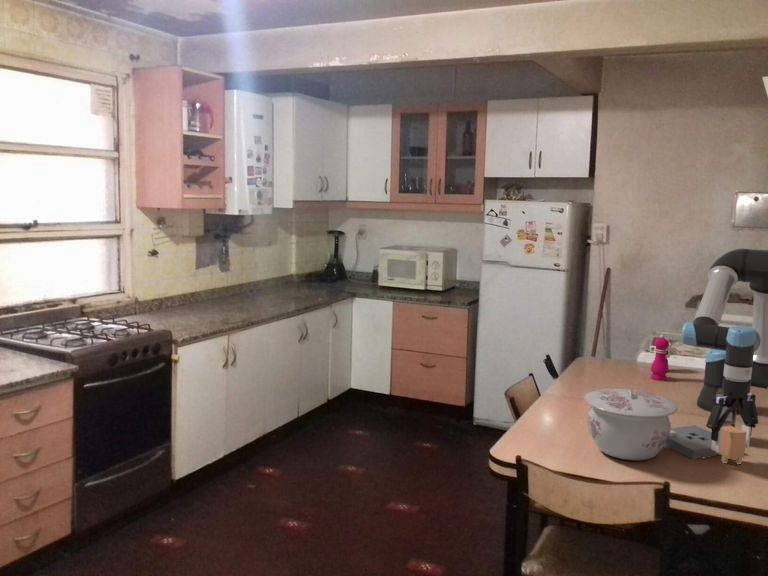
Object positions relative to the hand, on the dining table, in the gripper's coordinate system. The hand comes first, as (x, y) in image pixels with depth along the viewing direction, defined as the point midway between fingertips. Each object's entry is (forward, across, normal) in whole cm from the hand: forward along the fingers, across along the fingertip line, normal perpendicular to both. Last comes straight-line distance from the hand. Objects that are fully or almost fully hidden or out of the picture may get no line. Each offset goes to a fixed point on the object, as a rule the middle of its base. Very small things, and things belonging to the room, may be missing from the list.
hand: (730, 448), depth 208 cm
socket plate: (+4, 0, +14) cm, 15 cm away
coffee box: (+5, +15, +17) cm, 23 cm away
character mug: (+5, +57, +93) cm, 109 cm away
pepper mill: (+5, +46, +82) cm, 94 cm away
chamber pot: (+5, -25, +16) cm, 30 cm away
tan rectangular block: (+4, 0, 0) cm, 4 cm away
